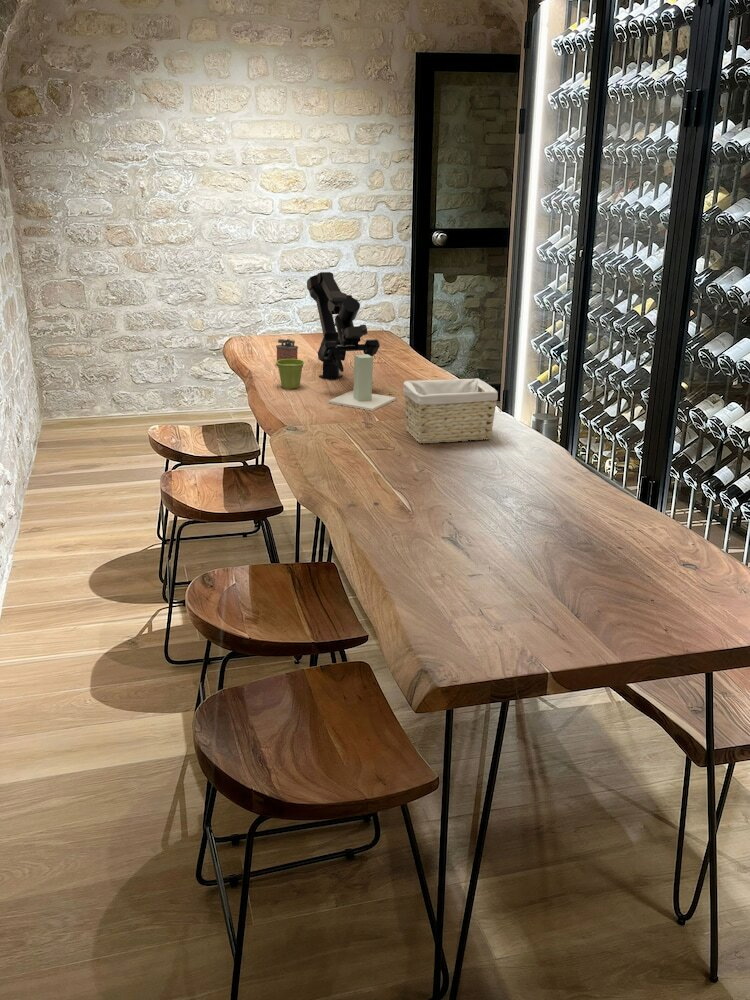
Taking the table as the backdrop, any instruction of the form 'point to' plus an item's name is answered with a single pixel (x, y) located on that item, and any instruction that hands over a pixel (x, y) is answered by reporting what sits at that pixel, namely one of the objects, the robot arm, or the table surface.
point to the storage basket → (449, 410)
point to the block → (363, 377)
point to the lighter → (286, 349)
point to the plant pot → (290, 372)
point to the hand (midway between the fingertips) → (356, 370)
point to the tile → (367, 405)
